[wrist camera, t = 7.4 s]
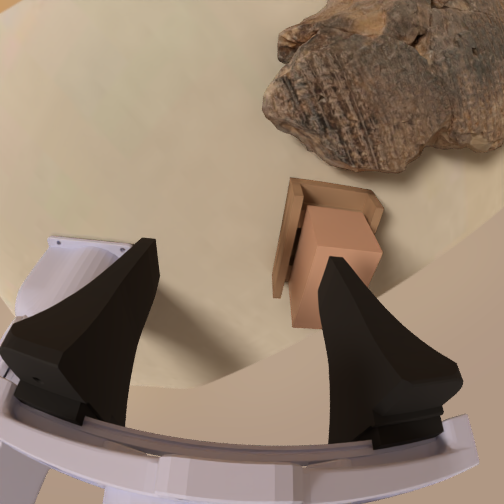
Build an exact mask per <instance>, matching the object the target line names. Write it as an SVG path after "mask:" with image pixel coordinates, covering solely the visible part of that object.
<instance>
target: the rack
mask: <svg viewBox="0 0 504 504" xmlns="http://www.w3.org/2000/svg"><path fill="white" fill-rule="evenodd" d="M307 205H311V206H318V207H326V208H333V209H340V210H347V211H354V212H360V213H363V215H364V217H365V219H366V221H367V222H368V224H369V226H370V228H371V230H372V232H373V234H374V235H375V233H376V230H377V227H378V225H379V222H380V219H381V216H382V214H383V211H384V208H383V206H382V205H381V203H380V202H379V200H378V199H377V197H376V196H375V194H374V193H373V192H372V190H368V189H362V188H357V187H351V186H345V185H339V184H333V183H326V182H320V181H313V180H306V179H298V178H291V177H290V182H289V188H288V193H287V199H286V204H285V210H284V215H283V220H282V226H281V231H280V236H279V241H278V247H277V252H276V257H275V262H274V267H273V272H272V285H273V298H281V294H282V290H283V286H284V282H289V278H290V274H291V270H292V266H293V262H294V258H295V254H296V250H297V246H298V241H299V237H300V233H301V229H302V224H303V220H304V216H305V211H306V207H307Z"/></svg>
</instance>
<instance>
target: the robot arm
mask: <svg viewBox="0 0 504 504" xmlns="http://www.w3.org/2000/svg"><path fill="white" fill-rule="evenodd" d="M47 241H48V244H49V248H48V249H47V250H46V252H45V253H44V254H43V256H42V257H41V258H40V260H39V261H38V262H37V264H36V265H35V266H34V268H33V269H32V271H31V272H30V273H29V275H28V276H27V278H26V279H25V280H24V282H23V283H22V285H21V287H20V289H19V291H18V294H17V298H16V304H15V315H16V317H15V318H14V320H13V321H12V322H11V324H10V325H9V327H8V328H7V330H6V331H5V333H4V335H3V337H2V338H1V340H0V504H34V503H35V501H36V498H37V495H38V494H39V491H40V489H41V486H42V484H43V482H44V479H45V477H46V475H47V473H48V470H49V469H51V468H52V469H55V470H57V471H59V472H61V473H63V474H66V475H68V476H71V477H73V478H76V479H79V480H81V481H84V482H87V483H89V484H92V485H95V486H98V487H101V488H104V489H105V492H104V498H103V504H362V503H367V502H372V501H377V500H380V499H385V498H389V497H393V496H396V495H400V494H404V493H407V492H410V491H414V490H417V489H420V488H423V487H426V486H429V485H432V484H435V483H438V482H441V481H443V480H446V479H448V478H451V477H453V476H455V475H457V474H459V473H462V472H464V471H466V470H468V469H470V468H472V467H474V466H476V465H478V464H479V458H478V453H477V449H476V445H475V441H474V437H473V433H472V429H471V426H470V422H469V418H468V415H467V414H463V415H459V416H456V417H452V418H449V419H446V420H444V421H441V417H440V415H442V414H443V412H444V411H443V407H442V405H443V404H444V403H446V402H447V401H448V400H449V399H450V398H452V397H453V396H454V395H455V394H456V393H457V392H458V391H459V390H460V389H461V387H462V385H463V379H462V377H461V374H460V371H459V368H458V366H457V363H455V362H454V361H452V360H450V359H449V358H447V357H445V356H443V355H442V354H440V353H438V352H437V351H436V350H434V349H433V348H431V347H430V346H428V345H427V344H426V343H424V342H423V341H421V340H420V339H419V338H418V337H416V336H415V335H414V334H413V333H411V332H410V331H409V330H408V329H407V328H406V327H404V326H403V325H402V324H401V323H400V322H399V321H398V320H397V319H396V318H395V317H394V316H393V315H392V314H391V313H390V312H389V311H388V310H387V309H386V308H385V307H384V306H383V305H382V304H381V303H380V302H379V300H378V299H377V298H376V297H375V296H374V295H373V294H372V292H371V291H370V290H369V289H368V288H367V286H366V285H365V284H364V283H363V281H362V280H361V279H360V278H359V276H358V275H357V274H356V273H355V271H354V270H353V269H352V268H351V266H350V265H349V264H348V263H347V261H346V260H345V259H344V258H343V257H336V256H329V259H328V262H327V265H326V268H325V271H324V274H323V277H322V280H321V282H320V285H319V288H318V306H319V314H320V320H321V325H322V330H323V335H324V340H325V345H326V351H327V356H328V363H329V380H330V425H329V441H328V444H324V445H304V446H303V445H302V446H261V445H241V444H227V443H216V442H206V441H198V440H190V439H183V438H177V437H171V436H165V435H160V434H154V433H149V432H144V431H139V430H135V429H131V428H126V427H125V420H126V409H127V399H128V392H129V385H130V379H131V374H132V368H133V363H134V358H135V354H136V349H137V345H138V342H139V339H140V336H141V333H142V330H143V328H144V325H145V322H146V319H147V317H148V314H149V311H150V309H151V306H152V303H153V301H154V298H155V294H156V290H157V287H158V282H159V278H160V272H159V264H158V256H157V247H156V239H151V238H141V239H140V240H139V241H138V242H136V243H135V244H134V245H131V244H127V243H117V242H107V241H98V240H88V239H78V238H68V237H59V236H50V237H49V238H48V239H47ZM59 241H60V242H61V243H60V242H59ZM122 248H124V249H125V250H124V249H122ZM146 453H148V454H153V455H158V456H161V457H154V456H147V454H146ZM302 466H307V467H306V468H302Z"/></svg>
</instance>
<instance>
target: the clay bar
mask: <svg viewBox="0 0 504 504" xmlns="http://www.w3.org/2000/svg"><path fill="white" fill-rule="evenodd" d="M382 254H383V252H382V250H381V248H380V246H379V244H378V242H377V240H376V238H375V236H374V234H373V232H372V230H371V228H370V226H369V224H368V222H367V221H366V219H365V217H364V215H363V213H360V212H354V211H347V210H340V209H333V208H326V207H318V206H311V205H307V207H306V211H305V216H304V220H303V224H302V229H301V233H300V237H299V241H298V246H297V250H296V254H295V258H294V262H293V266H292V270H291V274H290V278H289V282H288V284H289V295H290V306H291V317H292V327H293V328H312V329H322V325H321V320H320V314H319V306H318V288H319V285H320V282H321V280H322V277H323V274H324V271H325V268H326V265H327V262H328V259H329V256H336V257H343V258H344V259H345V260H346V261H347V263H348V264H349V265H350V266H351V268H352V269H353V270H354V271H355V273H356V274H357V275H358V276H359V278H360V279H361V280H362V281H363V283H364V284H365V285H366V286H367V287H368V285H369V283H370V281H371V279H372V277H373V274H374V272H375V270H376V268H377V265H378V263H379V261H380V259H381V256H382Z"/></svg>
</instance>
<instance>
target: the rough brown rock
mask: <svg viewBox="0 0 504 504" xmlns="http://www.w3.org/2000/svg"><path fill="white" fill-rule="evenodd" d="M278 60H279V61H280V62H282V63H284V64H287V65H285V66H284V67H283V68H282V69H281V70H280V71H279V73H278V74H277V75H276V77H275V78H274V79H273V81H272V82H271V84H270V85H269V86H268V88H267V89H266V91H265V93H264V96H263V105H262V111H263V113H264V115H265V117H266V118H267V119H268V120H270V121H271V122H272V123H273V124H274V125H275V127H276V128H277V129H278V130H280V131H282V132H285V133H288V134H291V135H293V136H295V137H297V138H298V139H299V140H300V141H301V142H303V143H304V144H305V146H306V148H307V150H308V151H313V152H315V153H316V154H317V155H318V156H319V157H320V158H321V159H323V160H324V161H325V162H326V163H328V164H329V165H332V166H336V167H341V168H345V169H348V170H353V171H354V172H362V171H380V172H384V173H400V172H402V171H404V170H405V168H406V165H407V164H409V163H410V162H412V161H414V160H416V159H417V158H419V157H420V155H421V153H422V151H423V148H424V147H428V146H432V147H435V148H440V149H450V148H457V149H461V148H464V147H468V148H470V149H471V150H473V151H474V152H475V153H476V152H488V151H491V150H495V149H496V148H498V147H501V145H502V144H503V142H504V0H328V1H327V5H326V6H325V7H324V8H323V9H322V10H320V11H319V12H318V13H317V14H315V15H312V16H310V17H308V18H306V19H304V20H303V21H302V22H301V23H300V24H297V25H295V26H292V27H289V28H287V29H285V30H284V31H282V32H281V33H279V37H278Z"/></svg>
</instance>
